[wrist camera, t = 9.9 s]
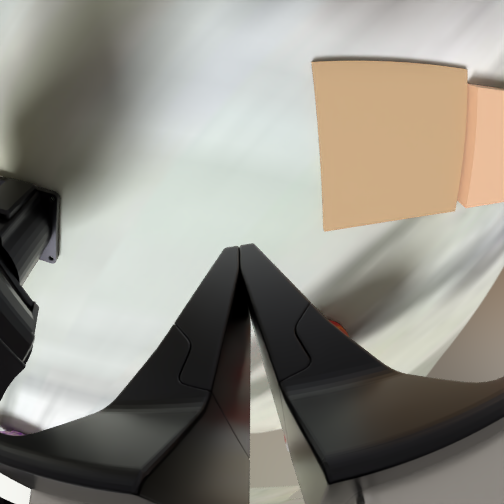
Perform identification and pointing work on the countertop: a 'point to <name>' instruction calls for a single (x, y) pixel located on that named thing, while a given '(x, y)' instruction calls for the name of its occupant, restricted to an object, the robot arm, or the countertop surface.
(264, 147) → the countertop surface
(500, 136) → the tile
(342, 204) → the mat
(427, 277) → the countertop surface
